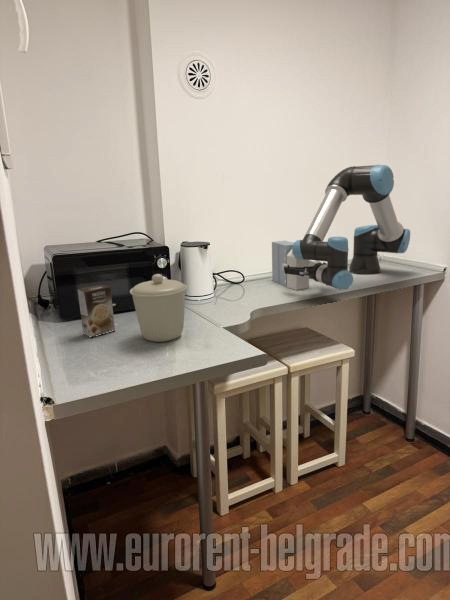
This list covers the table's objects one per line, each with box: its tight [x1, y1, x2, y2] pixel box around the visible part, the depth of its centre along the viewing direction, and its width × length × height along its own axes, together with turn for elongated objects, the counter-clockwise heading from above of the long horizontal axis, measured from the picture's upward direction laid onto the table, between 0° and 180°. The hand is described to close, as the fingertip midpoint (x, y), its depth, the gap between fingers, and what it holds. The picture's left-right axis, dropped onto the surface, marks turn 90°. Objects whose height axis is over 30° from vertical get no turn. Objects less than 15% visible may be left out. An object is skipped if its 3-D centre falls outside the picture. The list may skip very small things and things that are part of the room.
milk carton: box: [287, 249, 310, 291], centre depth 192 cm, size 7×7×19 cm
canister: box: [129, 273, 188, 343], centre depth 139 cm, size 18×18×21 cm
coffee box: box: [77, 284, 116, 337], centre depth 146 cm, size 9×6×16 cm
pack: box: [271, 240, 294, 288], centre depth 203 cm, size 7×14×19 cm, turn 21°
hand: (296, 264), depth 193 cm, fingers open, 13 cm apart
